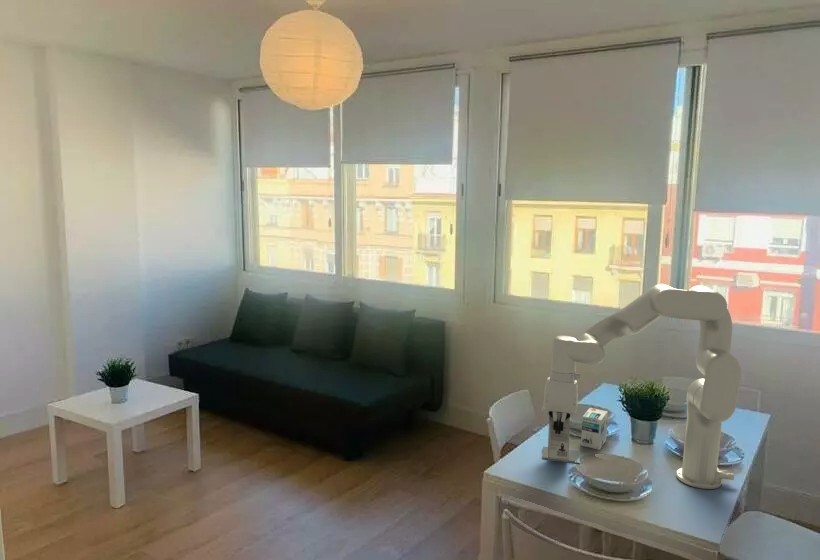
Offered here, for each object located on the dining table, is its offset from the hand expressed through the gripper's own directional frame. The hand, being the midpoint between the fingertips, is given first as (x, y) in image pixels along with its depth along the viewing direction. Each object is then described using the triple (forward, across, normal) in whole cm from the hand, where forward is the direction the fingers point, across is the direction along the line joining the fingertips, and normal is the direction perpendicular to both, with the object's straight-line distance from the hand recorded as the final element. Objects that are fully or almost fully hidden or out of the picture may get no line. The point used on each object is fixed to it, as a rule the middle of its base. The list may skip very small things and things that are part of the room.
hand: (557, 432), depth 191 cm
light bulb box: (+12, -13, -24) cm, 30 cm away
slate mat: (+12, -2, -10) cm, 16 cm away
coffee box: (+10, -1, -1) cm, 10 cm away
